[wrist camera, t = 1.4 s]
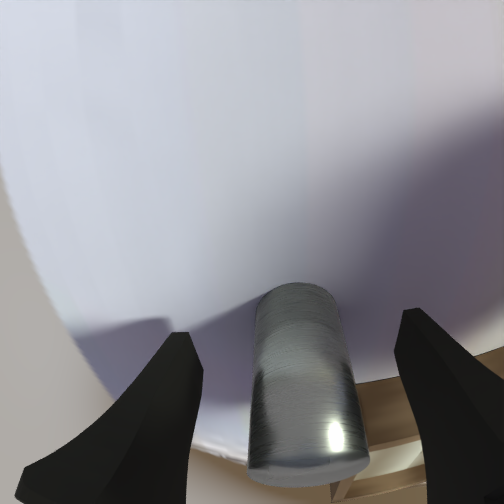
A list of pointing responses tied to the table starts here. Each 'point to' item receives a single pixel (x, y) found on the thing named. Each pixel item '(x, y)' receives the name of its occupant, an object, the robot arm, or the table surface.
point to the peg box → (393, 438)
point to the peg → (303, 393)
